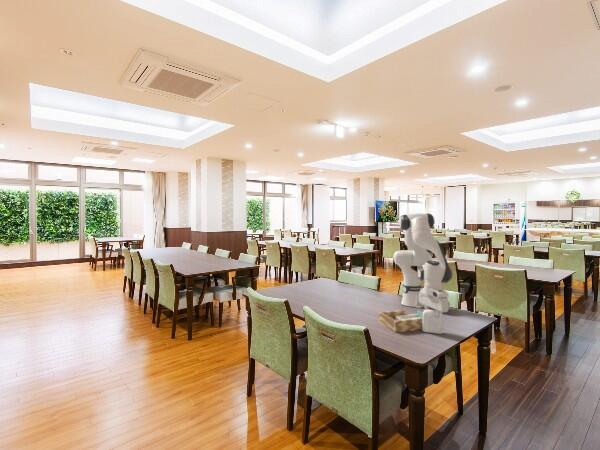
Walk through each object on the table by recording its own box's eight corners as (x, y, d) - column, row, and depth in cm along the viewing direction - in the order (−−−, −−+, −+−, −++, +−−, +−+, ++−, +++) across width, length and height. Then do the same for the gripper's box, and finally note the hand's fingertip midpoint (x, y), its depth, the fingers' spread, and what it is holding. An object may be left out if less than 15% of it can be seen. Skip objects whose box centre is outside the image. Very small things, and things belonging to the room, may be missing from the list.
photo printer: (442, 331, 174) (442, 309, 174) (443, 334, 170) (443, 311, 170) (422, 329, 177) (422, 308, 177) (422, 332, 173) (422, 310, 173)
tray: (418, 317, 196) (418, 310, 195) (434, 324, 182) (434, 317, 182) (394, 319, 191) (394, 312, 191) (408, 327, 177) (408, 319, 177)
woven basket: (404, 319, 195) (404, 309, 195) (423, 329, 178) (423, 318, 178) (378, 322, 190) (378, 312, 190) (395, 332, 173) (395, 321, 173)
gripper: (415, 287, 182) (415, 310, 182) (440, 295, 162) (440, 321, 163) (425, 286, 184) (425, 310, 184) (450, 294, 164) (450, 320, 164)
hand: (432, 315), depth 173 cm, fingers closed on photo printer, 6 cm apart
